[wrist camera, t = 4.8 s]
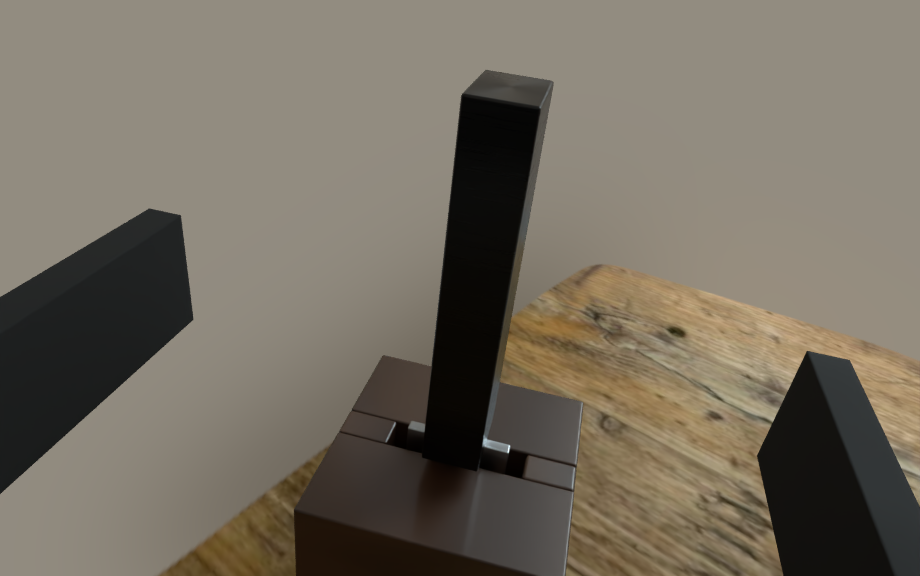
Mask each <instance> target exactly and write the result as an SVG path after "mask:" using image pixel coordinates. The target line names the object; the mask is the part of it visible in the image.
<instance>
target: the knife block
mask: <svg viewBox="0 0 920 576" xmlns="http://www.w3.org/2000/svg"><path fill="white" fill-rule="evenodd" d="M431 367H432V366H427V365H423V364H419V363H415V362H411V361H406V360H402V359H398V358H394V357H389V356H385V355H384V356H382V358H381V360H380V361H379V363H378V365H377V366H376V368H375V370H374V372H373V373H372V375H371V377H370V379H369V380H368V382H367V384H366V386H365V387H364V389H363V391H362V393H361V394H360V396H359V398H358V400H357V401H356V403H355V405H354V406H353V408H352V411H351V412H350V413H349V415H348V417H347V419H346V420H345V422H344V424H343V426H342V427H341V429H340V431H339V433H338V434H337V436H336V438H335V439H334V441H333V443H332V444H331V446H330V448H329V450H328V451H327V453H326V455H325V457H324V458H323V460H322V462H321V464H320V465H319V467H318V469H317V470H316V472H315V474H314V476H313V477H312V479H311V481H310V483H309V484H308V486H307V488H306V490H305V491H304V493H303V495H302V497H301V498H300V500H299V502H298V504H297V505H296V507H295V509H294V527H295V559H296V576H566V566H567V557H568V547H569V538H570V528H571V519H572V509H573V500H574V488H575V479H576V467H577V461H578V451H579V442H580V432H581V423H582V413H583V402H581V401H577V400H573V399H568V398H564V397H560V396H556V395H551V394H547V393H543V392H539V391H534V390H530V389H526V388H522V387H517V386H513V385H509V384H505V383H499V389H498V394H497V400H496V405H495V411H494V416H493V420H492V423H491V427H490V430H489V434H488V437H487V440H491V441H495V442H499V443H503V444H507V445H510V451H509V456H508V461H507V466H506V471H505V474H501V473H497V472H493V471H489V470H485V469H481V468H479V469H478V471H477V472H475V471H471V470H467V469H463V468H459V467H455V466H451V465H447V464H444V463H440V462H436V461H432V460H428V459H424V458H422V453H418V452H414V451H410V450H406V444H407V433H408V427H409V424H410V422H411V421H415V422H419V423H423V424H425V421H426V412H427V403H428V394H429V385H430V376H431Z"/></svg>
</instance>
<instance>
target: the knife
mask: <svg viewBox="0 0 920 576" xmlns="http://www.w3.org/2000/svg"><path fill="white" fill-rule="evenodd" d="M552 90H553V82H552V81H550V80H544V79H538V78H532V77H526V76H519V75H513V74H508V73H502V72H495V71H489V70H485V71H484V72H483V73H482V74H481V75H480V76H479V77H478V78H477V79H476V80H475V81H474V82H473V83H472V84H471V85H470V87H468V88H467V89H466V91H465V92H464V93H463V94H462V95H461V103H460V112H459V121H458V131H457V139H456V148H455V158H454V167H453V176H452V185H451V194H450V203H449V213H448V221H447V230H446V240H445V248H444V258H443V268H442V276H441V285H440V294H439V303H438V313H437V321H436V330H435V340H434V349H433V358H432V367H431V376H430V385H429V394H428V403H427V412H426V421H425V424H423V423H419V422H415V421H411V422H410V424H409V427H408V433H407V444H406V450H410V451H414V452H418V453H422V458H424V459H428V460H432V461H436V462H440V463H444V464H447V465H451V466H455V467H459V468H463V469H467V470H471V471H475V472H477V471H478V469H479V468H481V469H485V470H489V471H493V472H497V473H501V474H505V471H506V466H507V461H508V456H509V451H510V445H507V444H503V443H499V442H495V441H491V440H487V437H488V434H489V430H490V427H491V423H492V420H493V416H494V411H495V405H496V400H497V394H498V389H499V383H500V378H501V372H502V366H503V361H504V355H505V350H506V344H507V339H508V333H509V328H510V322H511V317H512V311H513V305H514V300H515V294H516V289H517V283H518V277H519V272H520V267H521V261H522V256H523V250H524V245H525V239H526V234H527V227H528V223H529V217H530V212H531V206H532V201H533V195H534V190H535V183H536V178H537V173H538V167H539V162H540V156H541V151H542V145H543V139H544V134H545V129H546V123H547V118H548V112H549V106H550V101H551V96H552Z"/></svg>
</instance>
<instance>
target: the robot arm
mask: <svg viewBox="0 0 920 576" xmlns="http://www.w3.org/2000/svg"><path fill="white" fill-rule="evenodd" d="M192 320H193V312H192V305H191V295H190V287H189V279H188V271H187V262H186V255H185V246H184V238H183V230H182V222H181V215H177V214H172V213H168V212H163V211H158V210H153V209H148V210H146V211H144V212H143V213H141V214H139V215H138V216H136V217H134V218H133V219H131V220H129V221H128V222H126V223H124V224H123V225H121V226H119V227H118V228H116V229H114V230H112V231H111V232H109V233H107V234H106V235H104V236H102V237H101V238H99V239H97V240H96V241H94V242H92V243H91V244H89V245H87V246H86V247H84V248H83V249H80V250H79V251H77V252H75V253H74V254H72V255H71V256H69V257H67V258H65V259H64V260H62V261H60V262H59V263H57V264H55V265H54V266H52V267H50V268H49V269H47V270H45V271H43V272H42V273H40V274H39V275H37V276H35V277H33V278H32V279H30V280H29V281H27V282H25V283H23V284H22V285H20V286H18V287H17V288H15V289H13V290H12V291H10V292H8V293H7V294H5V295H3V296H1V297H0V494H1V493H2V492H3V491H4V490H5V489H6V488H7V487H8V486H9V485H10V484H12V483H13V482H14V481H15V480H16V479H17V478H18V477H19V476H21V475H22V474H23V473H24V472H25V471H26V470H27V469H28V468H29V467H30V466H32V465H33V464H34V463H35V462H36V461H37V460H38V459H39V458H41V457H42V456H43V455H44V454H45V453H46V452H47V451H48V450H49V449H51V448H52V447H53V446H54V445H55V444H56V443H57V442H58V441H59V440H60V439H62V438H63V437H64V436H65V435H66V434H67V433H68V432H69V431H70V430H72V429H73V428H74V427H75V426H76V425H77V424H78V423H79V422H80V421H82V419H84V418H85V417H86V416H87V415H88V414H89V413H90V412H91V411H93V410H94V409H95V408H96V407H97V406H98V405H99V404H100V403H101V402H103V401H104V400H105V399H106V398H107V397H108V396H109V395H110V394H111V393H113V392H114V391H115V390H116V389H117V388H118V387H119V386H120V385H121V384H123V383H124V382H125V381H126V380H127V379H128V378H129V377H130V376H131V375H132V374H133V373H135V372H136V371H137V370H138V369H139V368H140V367H141V366H142V365H144V364H145V363H146V362H147V361H148V360H149V359H150V358H151V357H152V356H153V355H155V354H156V353H157V352H158V351H159V350H160V349H161V348H162V347H164V346H165V345H166V344H167V343H168V342H169V341H170V340H171V339H172V338H174V337H175V336H176V335H177V334H178V333H179V332H180V331H181V330H182V329H183V328H184V327H186V326H187V325H188V324H189V323H190V322H191V321H192ZM757 457H758V462H759V466H760V471H761V476H762V480H763V485H764V489H765V494H766V498H767V503H768V507H769V512H770V516H771V521H772V525H773V530H774V535H775V539H776V544H777V548H778V553H779V557H780V562H781V566H782V571H783V575H784V576H920V507H919V504H918V502H917V500H916V498H915V496H914V494H913V492H912V490H911V488H910V486H909V484H908V481H907V479H906V477H905V475H904V473H903V471H902V469H901V467H900V465H899V463H898V460H897V458H896V456H895V454H894V452H893V450H892V448H891V446H890V444H889V442H888V440H887V437H886V435H885V433H884V431H883V429H882V427H881V425H880V423H879V421H878V419H877V416H876V414H875V412H874V410H873V408H872V406H871V404H870V402H869V400H868V398H867V395H866V393H865V391H864V389H863V387H862V385H861V383H860V381H859V379H858V377H857V375H856V372H855V370H854V368H853V366H852V364H851V362H850V360H847V359H842V358H837V357H833V356H828V355H824V354H819V353H814V352H810V351H807V352H806V354H805V356H804V358H803V361H802V363H801V365H800V367H799V369H798V371H797V373H796V375H795V377H794V379H793V381H792V384H791V386H790V388H789V390H788V392H787V394H786V396H785V398H784V400H783V402H782V404H781V407H780V409H779V411H778V413H777V415H776V417H775V419H774V421H773V423H772V425H771V427H770V430H769V432H768V434H767V436H766V438H765V440H764V442H763V444H762V446H761V448H760V450H759V453H758V455H757Z"/></svg>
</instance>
